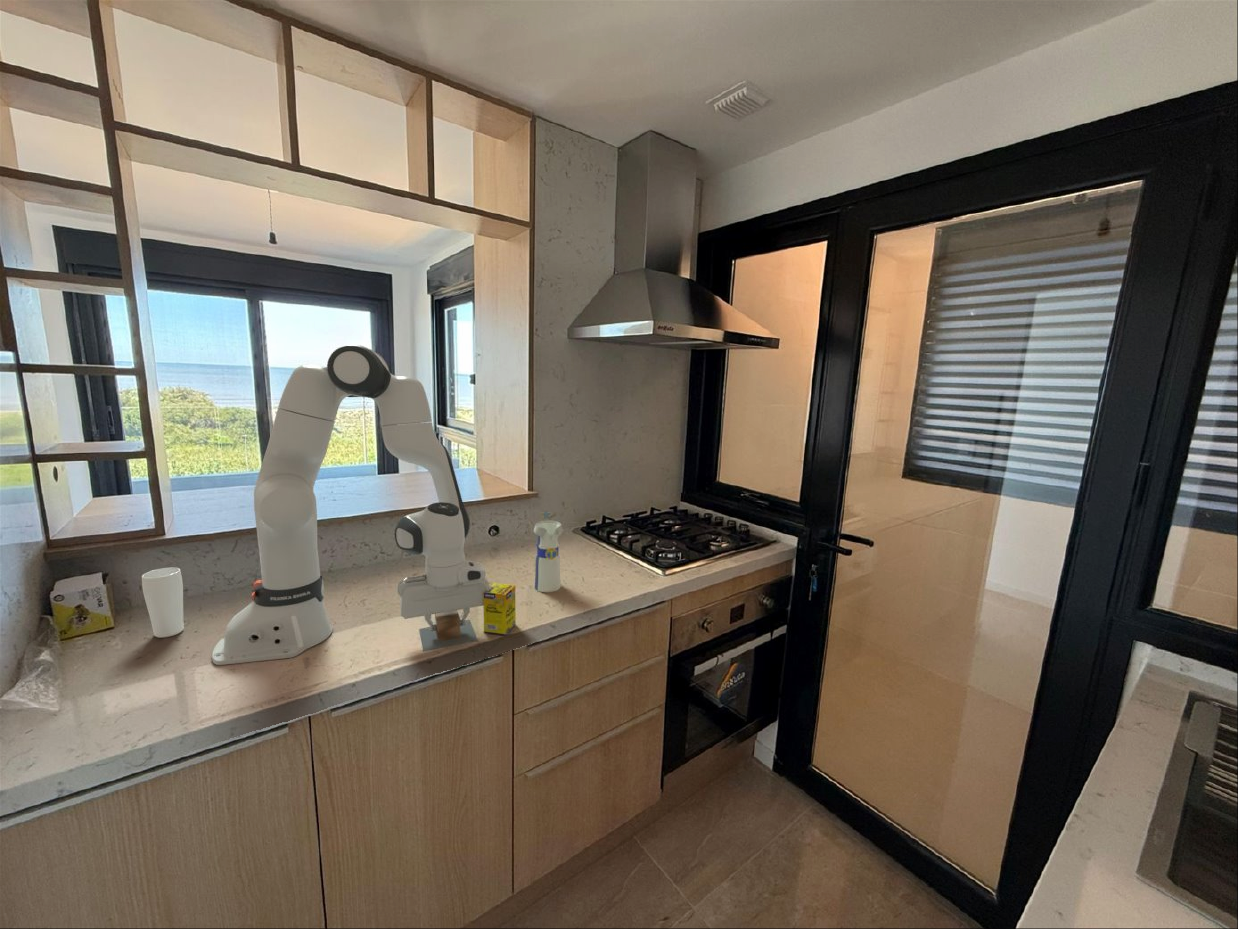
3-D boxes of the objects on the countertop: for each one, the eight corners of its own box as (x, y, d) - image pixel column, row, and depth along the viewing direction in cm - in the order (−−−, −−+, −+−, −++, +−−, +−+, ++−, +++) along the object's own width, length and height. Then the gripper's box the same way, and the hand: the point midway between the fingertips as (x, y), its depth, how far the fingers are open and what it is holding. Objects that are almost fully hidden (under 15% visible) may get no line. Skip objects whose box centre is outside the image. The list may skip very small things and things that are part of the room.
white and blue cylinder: (566, 589, 147) (567, 507, 142) (538, 594, 143) (538, 510, 139) (557, 579, 154) (558, 501, 150) (530, 583, 150) (530, 503, 146)
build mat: (423, 653, 111) (423, 651, 111) (419, 630, 121) (419, 628, 121) (477, 641, 117) (477, 640, 117) (469, 621, 126) (469, 619, 126)
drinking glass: (157, 628, 119) (149, 569, 116) (193, 624, 121) (185, 565, 119) (144, 642, 112) (134, 580, 110) (181, 637, 115) (173, 576, 113)
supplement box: (506, 637, 119) (505, 594, 117) (483, 634, 120) (482, 591, 118) (516, 625, 125) (516, 584, 123) (494, 623, 126) (493, 582, 124)
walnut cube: (438, 641, 115) (437, 621, 115) (435, 631, 120) (434, 612, 119) (460, 637, 118) (459, 617, 117) (457, 627, 122) (456, 608, 121)
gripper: (397, 584, 109) (400, 642, 111) (492, 570, 118) (493, 625, 120) (396, 574, 114) (399, 629, 117) (486, 561, 123) (487, 613, 126)
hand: (447, 627), depth 118 cm, fingers closed on walnut cube, 5 cm apart
